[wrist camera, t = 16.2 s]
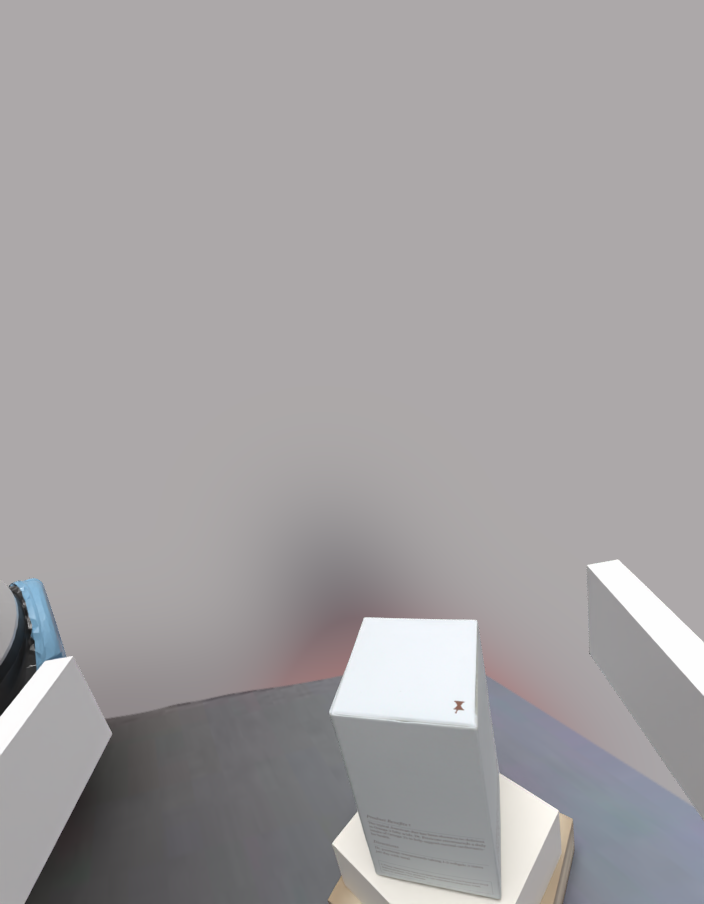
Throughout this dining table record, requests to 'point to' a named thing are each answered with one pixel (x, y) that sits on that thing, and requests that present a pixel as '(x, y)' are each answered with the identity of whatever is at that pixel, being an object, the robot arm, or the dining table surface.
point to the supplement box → (422, 752)
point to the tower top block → (522, 858)
